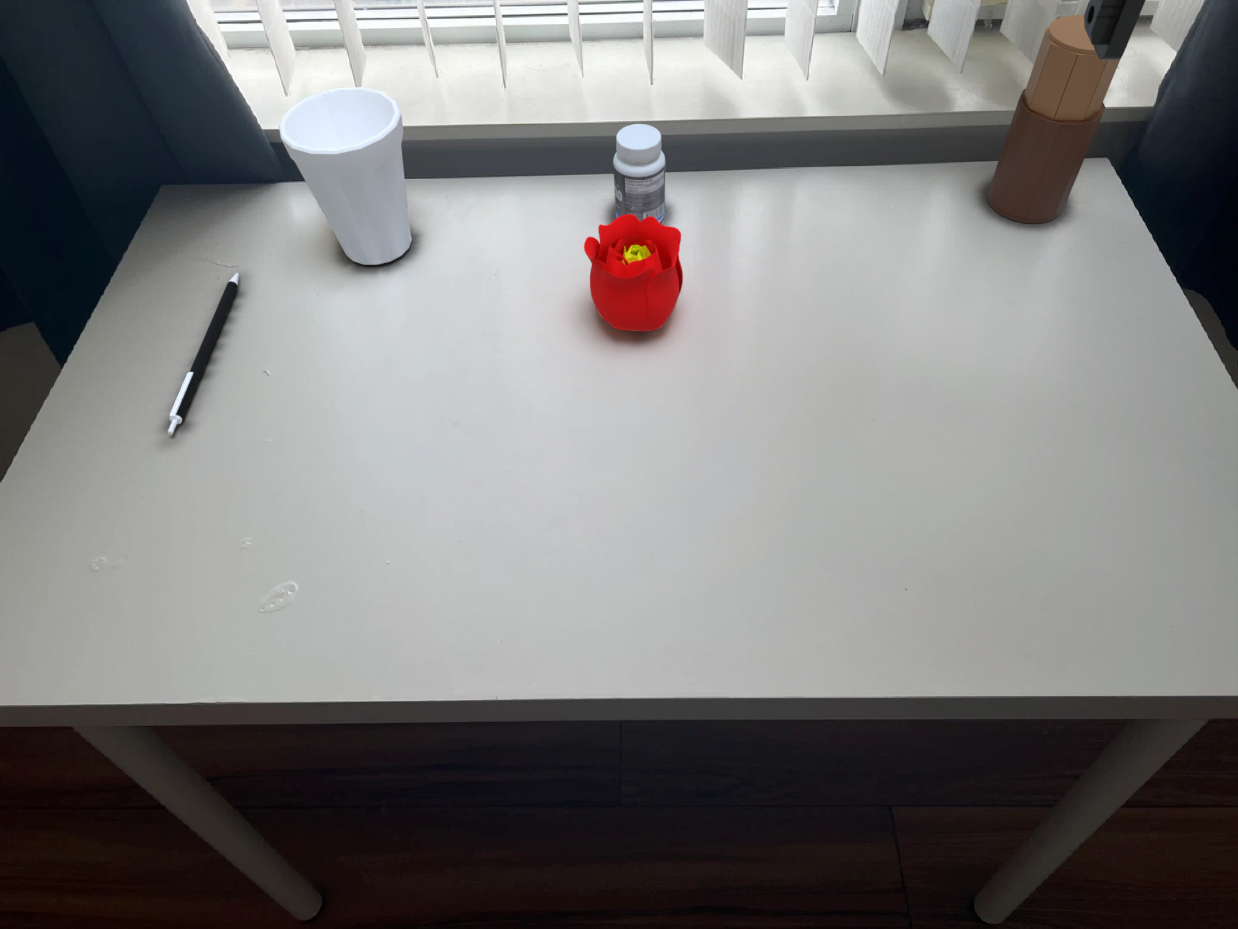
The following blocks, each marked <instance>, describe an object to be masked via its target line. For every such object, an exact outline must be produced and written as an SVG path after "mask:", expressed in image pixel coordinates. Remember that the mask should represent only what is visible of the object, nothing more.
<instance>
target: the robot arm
mask: <svg viewBox="0 0 1238 929" xmlns="http://www.w3.org/2000/svg"><path fill="white" fill-rule="evenodd" d="M1145 3H1146V0H1089V1H1088V2H1087V6H1086V8H1085V12H1084V14H1083V15H1084V28H1085V30H1086V32H1087V35H1088V37H1089V39H1090V41H1091V44H1092V45H1093V46H1094V49H1095V51H1096V53H1097V55H1098V58H1099V59H1100V60H1119V59H1120V58H1121V59H1122V57H1123V56H1124V54H1125V51H1126V49H1127V46H1128V44H1129V42H1130V39H1131V37H1132V34H1133V32H1134V29H1135V27H1136V25H1137V22H1138V19H1139V18H1140V15H1141V13H1142V11H1143V8H1144V5H1145ZM1121 59H1120V60H1121Z"/></svg>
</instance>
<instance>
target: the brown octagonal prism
mask: <svg viewBox="0 0 1238 929" xmlns="http://www.w3.org/2000/svg"><path fill="white" fill-rule="evenodd" d="M1121 60H1122V57H1121V58H1120V59H1119V60H1100V59H1099V58H1098V55H1097V53H1096V51H1095V49H1094V46H1093V45H1092V44H1091V41H1090V39H1089V37H1088V35H1087V32H1086V30H1085V28H1084V14H1070V15H1065V16H1061V17H1058V18H1056V19H1054V20H1053V21H1052V22H1051V23H1050V25H1049V27H1047V28H1045V31H1044V34H1043V37H1042V39H1041V42H1040V46H1039V48H1038V52H1037V54H1036V58H1035V60H1034V63H1033V66H1032V70H1031V72H1030V75H1029V78H1028V80H1027V84H1026V87H1025V89H1026V90H1025V93H1024V95H1025V98H1026V101H1027V104H1028V107H1029V108H1030V109H1031V110H1033V111H1035V112H1037V113H1040V114H1042V115H1044V116H1046V117H1048V118H1050V119H1054V120H1085V119H1087V118H1088V117H1090V116H1091V115H1093V114H1094V113H1096V112H1097V111H1099V110H1100V108H1101V105H1102V103H1104V101H1105V99H1106V96H1107V93H1108V91H1109V88H1110V86H1111V83H1112V81H1113V79H1114V76H1115V74H1116V71H1117V68H1118V67H1119V64H1120V63H1121V62H1120V61H1121Z"/></svg>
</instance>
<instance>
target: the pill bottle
mask: <svg viewBox="0 0 1238 929" xmlns="http://www.w3.org/2000/svg"><path fill="white" fill-rule="evenodd" d="M615 136H616V137H615V139H616V140H615V150H616V152H615V153H614V155H613V159H612V167H613V185H614V186H613V188H614V189H613V190H614V205H615V218H618V217H620V216H622V215H626V214H633V215H635V216H636V217H637V218H638V219H639V221H640V222H641V221H642V220H643V219H644V218H646V217H650V216H652V217H655V218H656V219H657V221H658V222H659V223H660V224H661V223H662V221H663V220H664V218H665V215H666V157H665V156H666V155H665V153H664V152H663V150H662V133H661V132H660V130H658V129H657V128H656V127H654V126H652V125H649V124H644V123H634V124H633V123H632V124H629V125H626V126H624V127H621V129H620V130H618V132H617V133H616V135H615Z"/></svg>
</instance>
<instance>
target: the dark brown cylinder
mask: <svg viewBox="0 0 1238 929" xmlns="http://www.w3.org/2000/svg"><path fill="white" fill-rule="evenodd" d="M1025 90H1026V88H1024V89H1022V91H1021V93H1020V95H1019V98H1018V101H1017V104H1016V107H1015V110H1014V113H1013V116H1012V120H1011V122H1010V125H1009V128H1008V131H1007V134H1006V136H1005V140H1004V143H1003V146H1002V149H1001V152H1000V155H999V158H998V161H997V164H996V167H995V170H994V173H993V176H992V180H991V181H990V185H989V188H988V192H987V201H988V204H989V206H990V207H991V208H992V209H993V211H994V212H995V213H997V214H998V215H1000V216H1002V217H1003V218H1005V219H1008V220H1011V221H1013V222H1018V223H1023V224H1031V225H1032V224H1035V225H1036V224H1037V225H1038V224H1044V223H1048V222H1051V221H1054V220H1055V219H1057V218H1058V217H1060V216H1061V214H1063V211H1064V209H1065V206H1066V204H1067V201H1068V199H1069V197H1070V194H1071V192H1072V190H1073V188H1074V185H1075V183H1076V180H1077V178H1078V175H1079V173H1080V170H1081V168H1082V165H1083V164H1084V161H1085V159H1086V156H1087V154H1088V151H1089V148H1090V146H1091V144H1092V142H1093V139H1094V137H1095V135H1096V132H1097V129H1098V127H1099V125H1100V122H1101V121H1102V118H1103V115H1104V112H1105V110H1106V105H1105V103H1104V102H1103V103H1102V105H1101V108H1100V110H1099V111H1097V112H1096V113H1094V114H1093V115H1091V116H1090V117H1088V118H1087V119H1085V120H1054V119H1050V118H1048V117H1046V116H1044V115H1042V114H1040V113H1037V112H1035V111H1033V110H1031V109H1030V108H1029V107H1028V104H1027V101H1026V98H1025V95H1024V93H1025Z"/></svg>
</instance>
